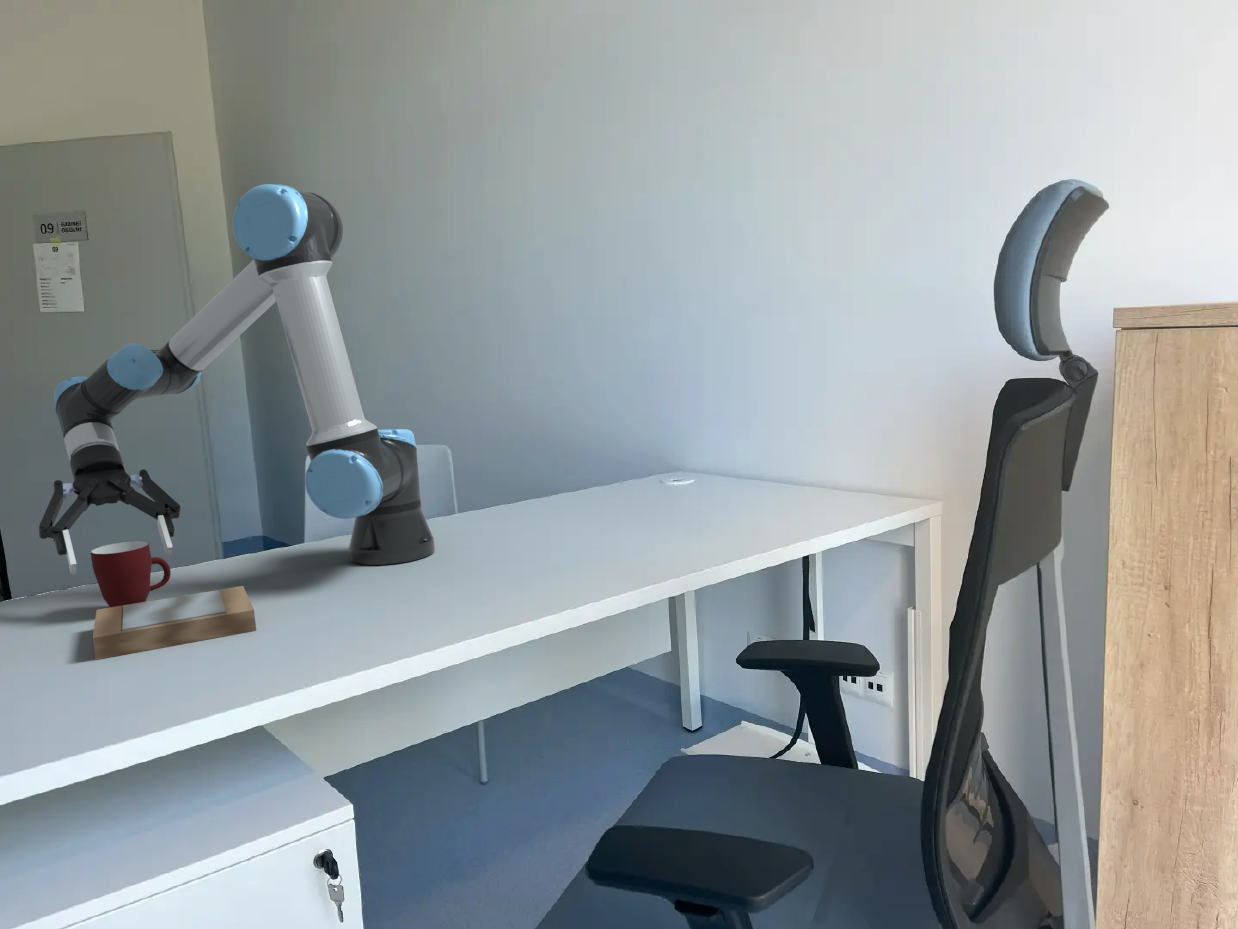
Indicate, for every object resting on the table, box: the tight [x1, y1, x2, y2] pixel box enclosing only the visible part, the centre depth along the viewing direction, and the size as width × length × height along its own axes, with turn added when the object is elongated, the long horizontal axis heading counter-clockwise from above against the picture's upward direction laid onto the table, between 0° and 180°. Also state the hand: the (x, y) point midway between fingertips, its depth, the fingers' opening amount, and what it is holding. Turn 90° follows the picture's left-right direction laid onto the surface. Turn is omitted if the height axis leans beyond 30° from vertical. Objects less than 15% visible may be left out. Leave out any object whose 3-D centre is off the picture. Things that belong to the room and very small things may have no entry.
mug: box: [90, 540, 172, 608], centre depth 150 cm, size 10×8×10 cm
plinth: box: [92, 585, 257, 661], centre depth 138 cm, size 20×15×3 cm
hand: (123, 560), depth 151 cm, fingers open, 13 cm apart
